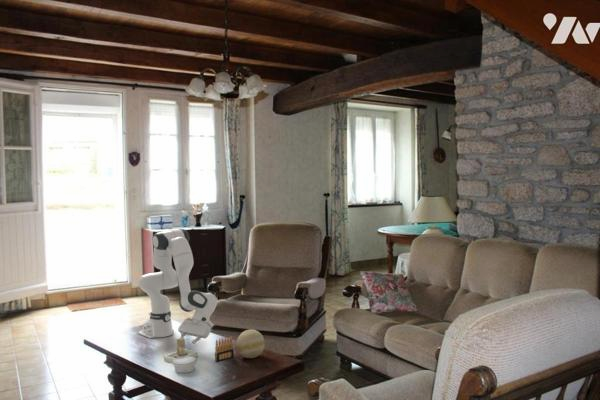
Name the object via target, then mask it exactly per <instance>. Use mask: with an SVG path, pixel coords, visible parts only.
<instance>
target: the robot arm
mask: <svg viewBox="0 0 600 400" xmlns="http://www.w3.org/2000/svg"><path fill="white" fill-rule="evenodd" d="M190 240H191V239H190V234H189V231H188V230H187V229H184V228H179V229H169V230H165V231H159V232H155V233H154V234H153V236H152V242H151V243H152V245H153V251H152V252H153V254H152V265H153V266H154V268H156V269H158V270H160V271H158V272H150V273H146V274H142V275H141V276H140V277H139V280H138V286H139V288H140V290H141V291H142V292H144V293H146V294H147V296H148V297H149V299H150V304H151V307H150V308H151V312H149V313H148V315H149V318H148V319H146V320H145V321H144V322H143V324H142V329H141V330H140V331H138V334H139V335H141V336H143V337H146V338H149V339H153V338H164V337H166V338H167V337H168V336H171V335H173V334H174V328H173V323H172V322H173V321H172V312H171V302H170V301H171V300H170V298H169V297H168V296H167V295H164V294H163V293H162V292H161V291H162V290H169V289H174V288H177V287H178V290H179V302H178V303H179V307H180V309H181V310H182V311H183V312H186V313H191V312H193V311H194V310H195V312H194V313H193V315H192V317H191V318H190V317H187V318H185V319H184V320H183V322H182V323H181V324H180V325H179V327H178V329H177V330H178V332H179V333H180V338H185V336H186V335H187V336H192V337H195V339H193V340H192V341H191V344H193V345H197V342H199V341H200V340H201V339H207V338H208V337H209V336H210V333H211V332H212V328H213V327H214V324H213V323H212V322H211V321H210V317H211V316H212V314H213V313H214V311H215V310H216V307H217V304H218V298H217V296H216V295H215V294H213V293H211V292H202V291H200V290H196V289H195V290H192V289H191V284H190V277H189V276H190V274H191V271H192V268H193V267H194V263H195V261H194V255H193V251H192V248H191V246H190ZM172 259H173V263H174V267H175V269H174V267H173V265H172V264H173V263H172Z"/></svg>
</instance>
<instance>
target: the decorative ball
mask: <svg viewBox="0 0 600 400" xmlns="http://www.w3.org/2000/svg"><path fill="white" fill-rule="evenodd" d="M265 347H266V344H265V338H264V336H263V334H262V333H261V332H260V331H258V330H256V329H252V328H251V329H250V328H249V329H246V330H244V331H242V332H241V333H240V335H238V337H237V340H236V348H237V352H238V353H239V354H240V356H242V357H244V358H246V359H255V358H257V357H259V356H260V355H262V353H263V352H264V349H265Z"/></svg>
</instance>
